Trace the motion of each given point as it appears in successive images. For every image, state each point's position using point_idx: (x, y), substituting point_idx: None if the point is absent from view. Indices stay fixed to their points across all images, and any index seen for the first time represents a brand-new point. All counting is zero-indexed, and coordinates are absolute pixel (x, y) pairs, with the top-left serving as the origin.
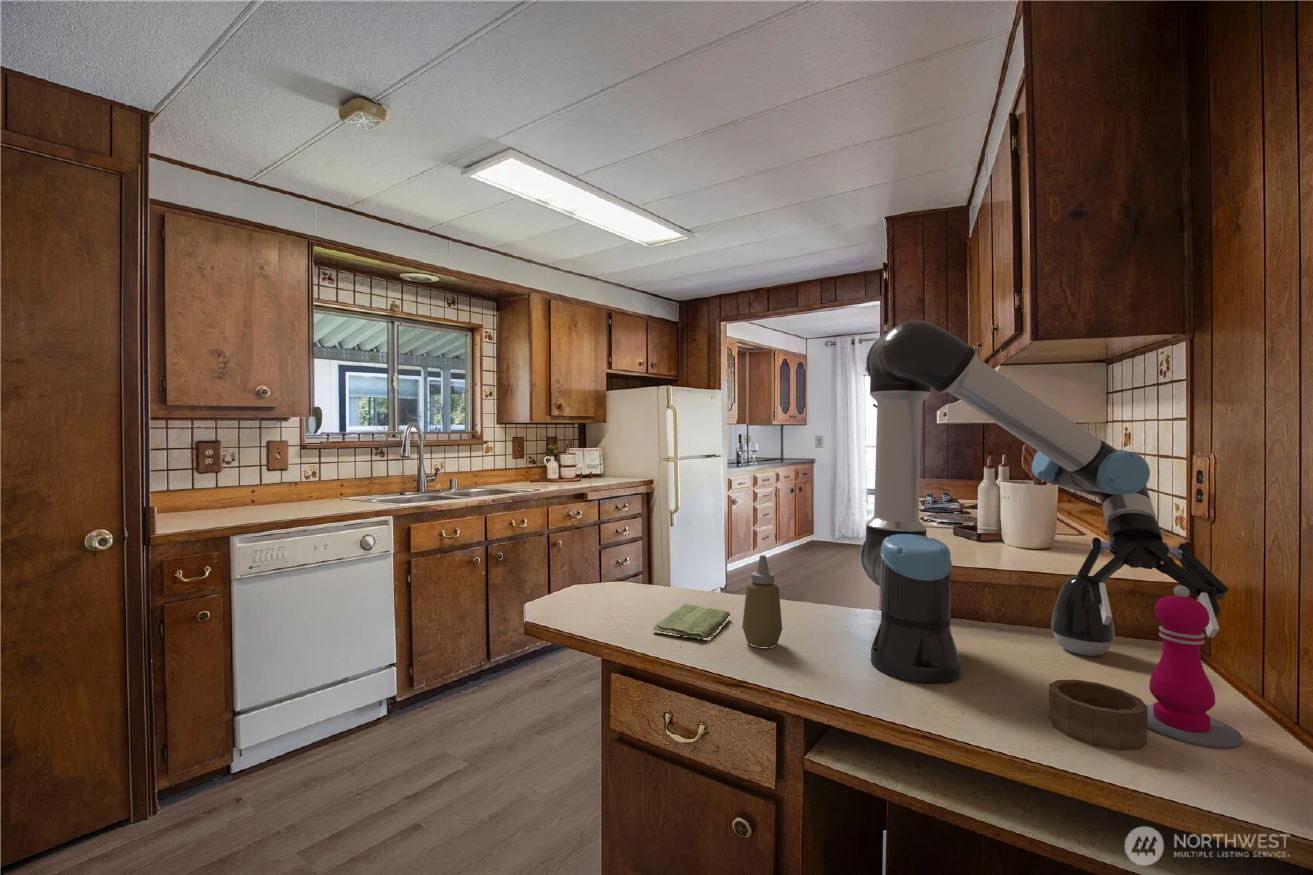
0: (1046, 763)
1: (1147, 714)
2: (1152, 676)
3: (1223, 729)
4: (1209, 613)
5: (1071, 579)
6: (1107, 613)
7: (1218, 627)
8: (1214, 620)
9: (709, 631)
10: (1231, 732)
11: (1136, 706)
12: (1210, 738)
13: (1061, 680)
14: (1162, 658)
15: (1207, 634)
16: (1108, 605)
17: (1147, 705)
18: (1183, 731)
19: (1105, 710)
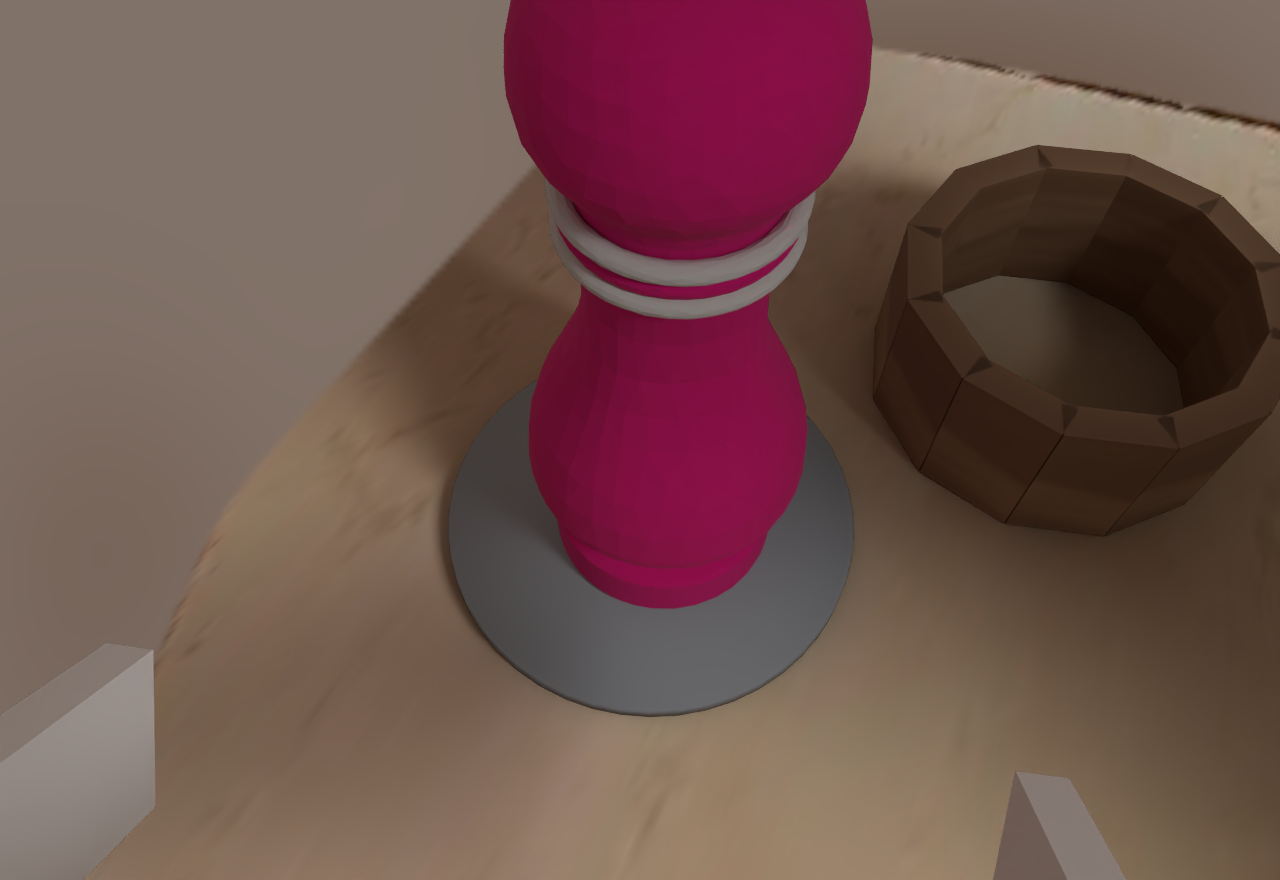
0: (1227, 126)
1: (785, 556)
2: (801, 424)
3: (508, 492)
4: (20, 740)
5: None
6: (1064, 794)
7: (98, 651)
8: (62, 684)
9: None
10: (491, 473)
11: (951, 220)
12: None
13: (1249, 413)
14: (769, 340)
15: (140, 814)
16: (1070, 866)
17: (736, 682)
18: None
19: (1087, 152)
